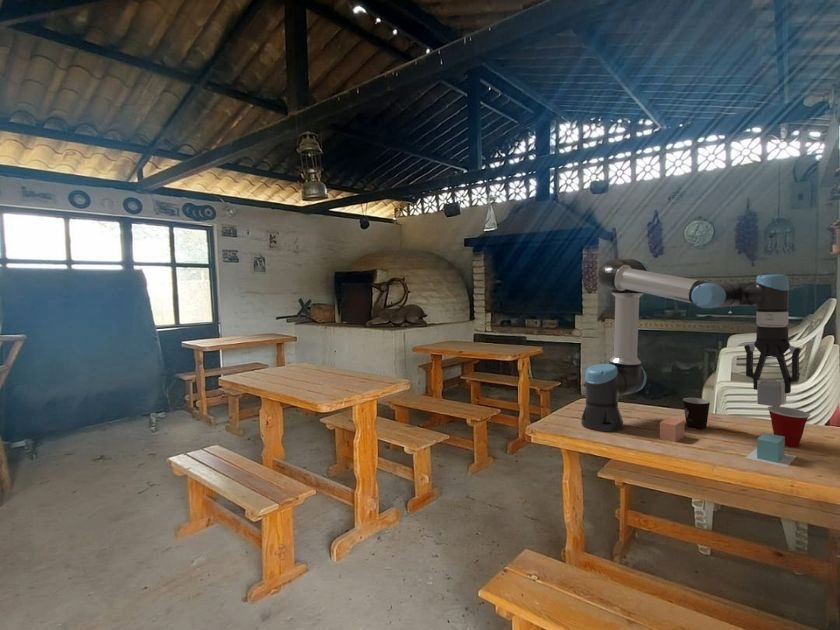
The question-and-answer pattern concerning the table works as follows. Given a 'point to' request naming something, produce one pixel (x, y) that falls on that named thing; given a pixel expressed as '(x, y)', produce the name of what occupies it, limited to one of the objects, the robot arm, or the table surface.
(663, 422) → the terracotta brick
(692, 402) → the coffee mug
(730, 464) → the table surface
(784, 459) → the baseplate
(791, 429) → the plastic cup
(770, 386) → the charcoal brick
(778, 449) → the teal base brick
